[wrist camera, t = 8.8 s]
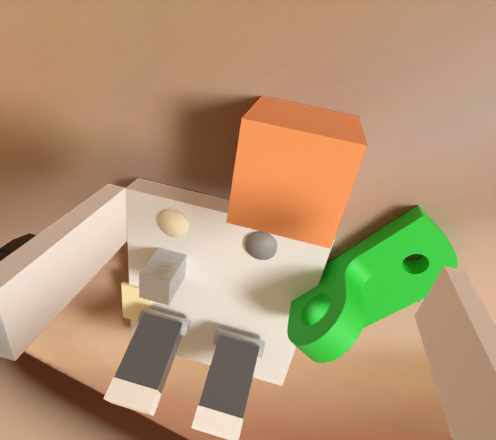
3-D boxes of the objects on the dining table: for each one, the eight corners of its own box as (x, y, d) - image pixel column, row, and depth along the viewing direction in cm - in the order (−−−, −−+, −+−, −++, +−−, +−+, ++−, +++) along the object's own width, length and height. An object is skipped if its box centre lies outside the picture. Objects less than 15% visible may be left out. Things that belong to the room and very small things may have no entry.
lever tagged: (142, 303, 31) (99, 397, 26) (189, 316, 30) (153, 414, 26) (146, 311, 32) (106, 401, 28) (191, 324, 32) (157, 417, 27)
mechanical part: (338, 322, 32) (340, 405, 25) (293, 282, 30) (283, 357, 23) (465, 256, 26) (514, 340, 19) (416, 202, 24) (450, 272, 18)
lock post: (159, 247, 28) (138, 274, 25) (186, 254, 28) (169, 282, 25) (158, 269, 29) (139, 297, 27) (185, 276, 29) (168, 305, 26)
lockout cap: (261, 95, 22) (241, 118, 17) (358, 116, 22) (367, 145, 17) (246, 182, 26) (226, 222, 21) (330, 202, 25) (330, 248, 20)
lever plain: (217, 325, 30) (186, 426, 26) (266, 339, 29) (242, 443, 26) (218, 330, 32) (190, 425, 28) (264, 343, 31) (241, 441, 28)
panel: (131, 176, 28) (116, 187, 26) (334, 225, 26) (334, 242, 24) (135, 325, 37) (124, 342, 35) (284, 368, 36) (281, 388, 34)
